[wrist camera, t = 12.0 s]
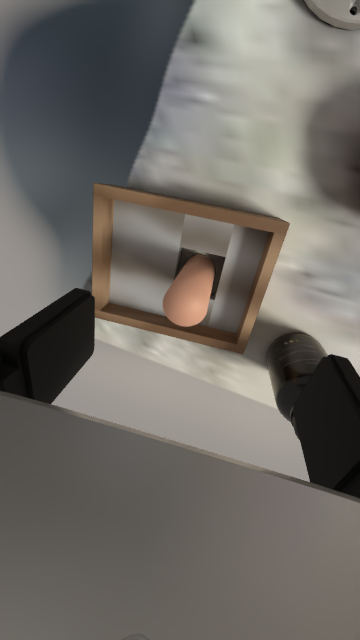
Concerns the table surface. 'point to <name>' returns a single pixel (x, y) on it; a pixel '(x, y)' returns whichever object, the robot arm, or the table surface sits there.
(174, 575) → the robot arm
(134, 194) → the wooden rectangular frame
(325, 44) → the table surface
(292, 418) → the supplement bottle
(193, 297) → the peg
